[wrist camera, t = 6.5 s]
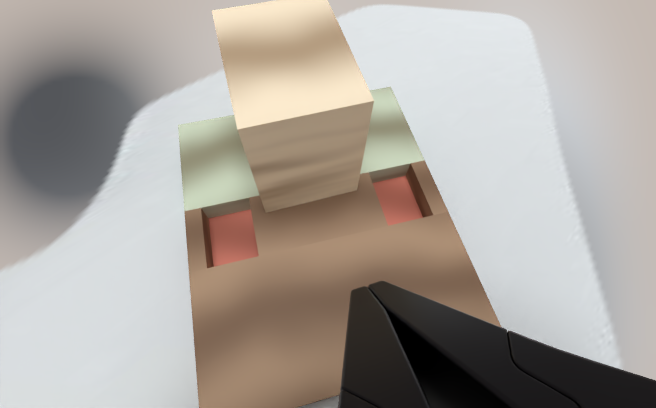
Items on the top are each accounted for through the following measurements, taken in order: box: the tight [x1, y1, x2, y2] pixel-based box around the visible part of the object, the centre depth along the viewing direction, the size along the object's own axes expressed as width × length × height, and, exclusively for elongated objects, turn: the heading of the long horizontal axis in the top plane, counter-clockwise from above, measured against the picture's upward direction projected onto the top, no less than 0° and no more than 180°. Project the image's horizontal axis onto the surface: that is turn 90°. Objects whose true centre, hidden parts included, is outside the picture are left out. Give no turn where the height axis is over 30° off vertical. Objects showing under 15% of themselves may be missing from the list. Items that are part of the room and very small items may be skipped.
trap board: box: [178, 87, 501, 408], centre depth 22 cm, size 19×16×2 cm
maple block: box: [212, 0, 374, 213], centre depth 20 cm, size 8×6×8 cm
